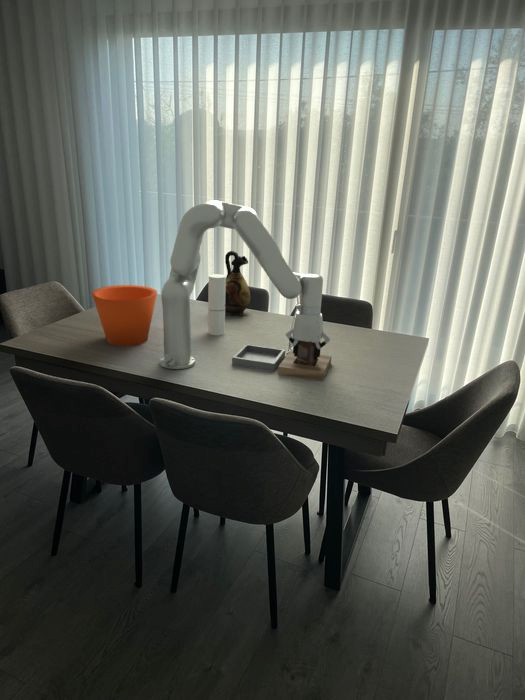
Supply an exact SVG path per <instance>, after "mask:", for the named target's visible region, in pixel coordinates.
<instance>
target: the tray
mask: <svg viewBox="0 0 525 700" xmlns="http://www.w3.org/2000/svg"><path fill="white" fill-rule="evenodd" d="M285 357H286V349H283V348H276V347H269V346H264V345H263V346H261V345H255V344H248V343H246V344H244V346H242V347H241V348H240V349H239V350H238V351H237V352H236V353H235V354H234V355H233V356H232V357H231V365H232V366H236V367H241V368H242V367H243V368H248V369H255V370H263V371H266V372H267V371H269V372H275V371H276V369H278V366H279V365H280V364H281V362H282V361H283V360H284V358H285Z"/></svg>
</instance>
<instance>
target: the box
mask: <svg viewBox="0 0 525 700" xmlns="http://www.w3.org/2000/svg"><path fill="white" fill-rule="evenodd" d="M316 348H317V346H316V344H315V343H312V342H311V341H310V342H303V341H298V346H297V359H296V364H301V365H308V366H314V367H315V361H316V360H315V351H316Z"/></svg>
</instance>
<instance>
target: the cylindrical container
mask: <svg viewBox="0 0 525 700" xmlns="http://www.w3.org/2000/svg"><path fill="white" fill-rule="evenodd" d="M226 276H227V275H225V274H220V273H219V274H218V273H217V274H216V273H213V274H208V287H207V288H208V299H207V300H208V301H207V303H208V304H207V305H208V306H207V307H208V308H207V309H208V312H207V317H208V318H207V321H208V322H207V333H208V334H209V335H212V336H222V335H225V332H226V331H225V330H226V329H225V328H226V327H225V326H226V325H225V324H226V313H225V288H226Z"/></svg>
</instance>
